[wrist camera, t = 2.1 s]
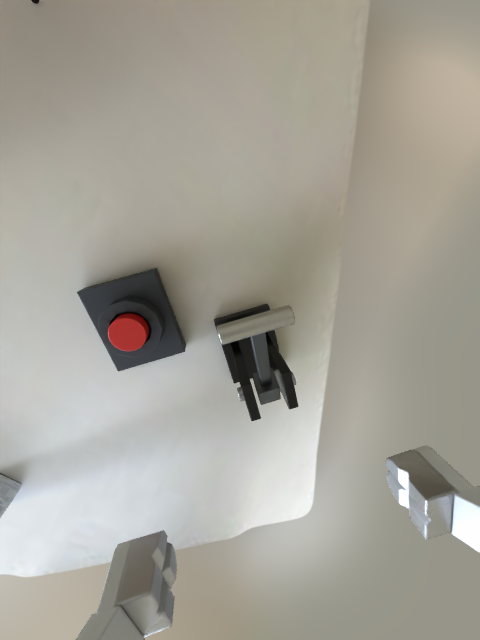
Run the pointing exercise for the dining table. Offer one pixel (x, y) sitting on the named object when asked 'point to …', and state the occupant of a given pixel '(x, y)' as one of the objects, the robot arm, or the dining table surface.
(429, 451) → the robot arm
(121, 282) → the control block
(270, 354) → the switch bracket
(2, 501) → the medicine box
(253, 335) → the switch lever
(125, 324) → the button
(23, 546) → the dining table surface
